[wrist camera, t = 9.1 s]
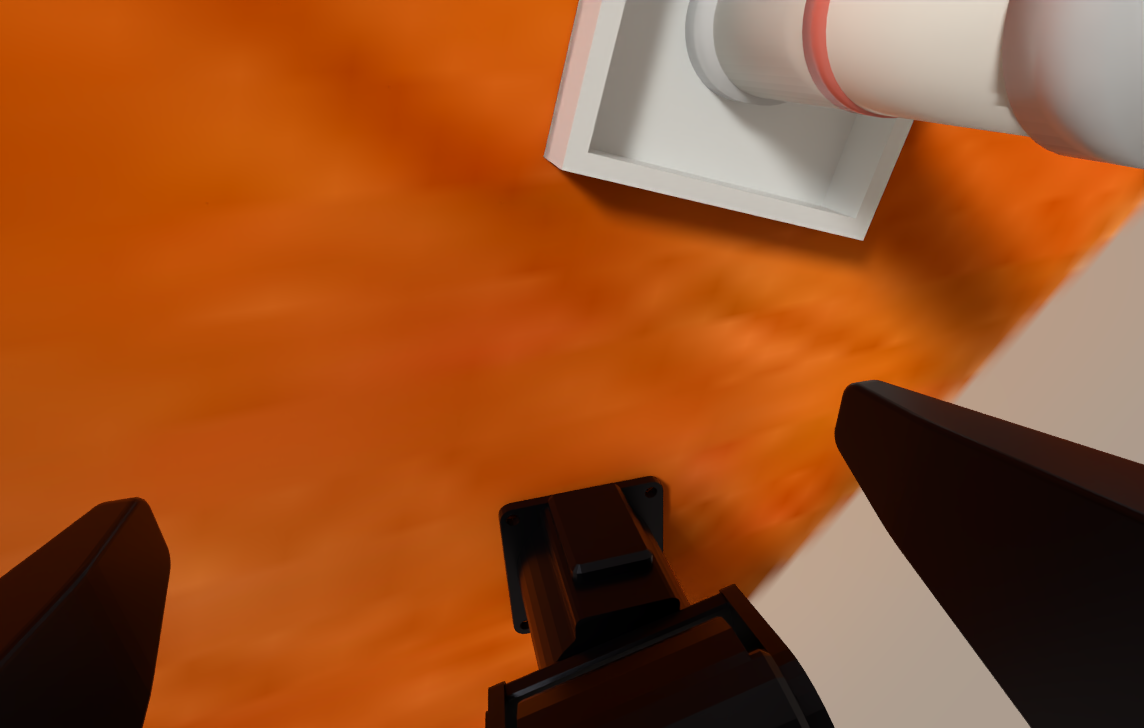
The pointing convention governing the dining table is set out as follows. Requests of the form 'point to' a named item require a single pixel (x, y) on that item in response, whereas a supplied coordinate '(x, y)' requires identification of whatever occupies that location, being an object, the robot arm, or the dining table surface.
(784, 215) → the parts tray
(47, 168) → the dining table surface
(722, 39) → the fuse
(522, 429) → the dining table surface
